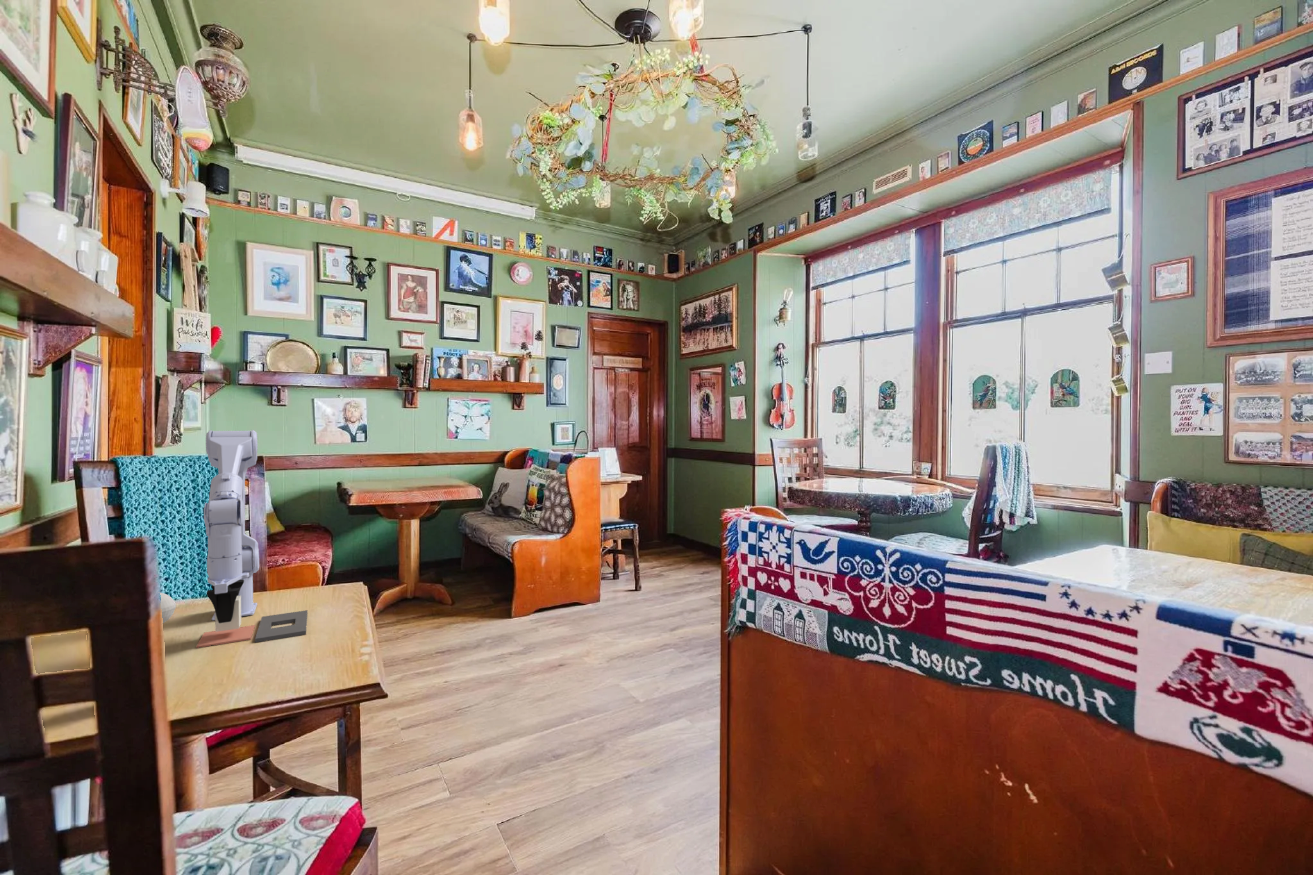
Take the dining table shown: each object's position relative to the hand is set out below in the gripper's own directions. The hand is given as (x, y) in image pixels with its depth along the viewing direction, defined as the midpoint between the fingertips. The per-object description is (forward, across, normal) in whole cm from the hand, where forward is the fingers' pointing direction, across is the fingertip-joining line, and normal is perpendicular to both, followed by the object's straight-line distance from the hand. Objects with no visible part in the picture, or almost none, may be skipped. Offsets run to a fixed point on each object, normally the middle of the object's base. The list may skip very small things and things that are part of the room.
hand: (226, 618), depth 122 cm
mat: (+4, 0, 0) cm, 4 cm away
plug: (+2, 0, 0) cm, 2 cm away
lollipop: (+4, -17, +8) cm, 19 cm away
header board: (+4, +1, -10) cm, 11 cm away
